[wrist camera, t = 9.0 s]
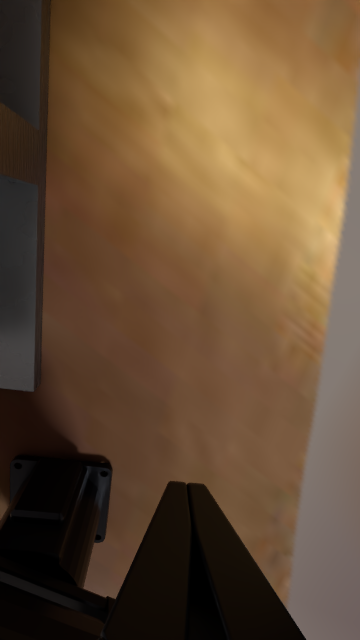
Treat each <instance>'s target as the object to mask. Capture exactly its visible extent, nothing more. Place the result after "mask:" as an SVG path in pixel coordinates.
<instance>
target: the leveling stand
mask: <svg viewBox="0 0 360 640" xmlns="http://www.w3.org/2000/svg"><path fill="white" fill-rule="evenodd" d="M50 1H51V0H0V388H4V389H13V390H22V391H31V392H34V391H35V390H36V388H37V387H38V386H39V385H40V380H41V342H42V305H43V267H44V229H45V191H46V153H47V115H48V77H49V39H50Z"/></svg>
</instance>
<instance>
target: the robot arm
mask: <svg viewBox="0 0 360 640" xmlns="http://www.w3.org/2000/svg"><path fill="white" fill-rule="evenodd" d="M18 463H20V464H22V465H20V464H18ZM102 471H106V473H104V472H102ZM112 471H113V469H112V467H111V465H109V464H106V463H97V462H87V461H76V460H66V459H56V458H45V457H35V456H24V455H18V456H15V457H14V459H13V460H12V462H11V464H10V505H9V507H8V508H7V510H6V512H5V514H4V515H3V517H2V519H1V521H0V640H306V638H305V637H304V635H303V634H302V632H301V631H300V629H299V628H298V626H297V625H296V623H295V621H294V620H293V619H292V617H291V615H290V614H289V612H288V611H287V609H286V608H285V606H284V605H283V603H282V602H281V600H280V599H279V597H278V596H277V594H276V592H275V591H274V589H273V588H272V586H271V585H270V583H269V582H268V580H267V579H266V577H265V576H264V574H263V573H262V571H261V570H260V568H259V567H258V565H257V563H256V562H255V560H254V559H253V557H252V556H251V554H250V553H249V551H248V550H247V548H246V547H245V545H244V544H243V542H242V541H241V539H240V537H239V536H238V534H237V533H236V531H235V530H234V528H233V527H232V525H231V524H230V522H229V521H228V519H227V518H226V516H225V515H224V513H223V512H222V510H221V508H220V507H219V505H218V504H217V502H216V501H215V499H214V498H213V496H212V495H211V493H210V492H209V490H208V489H207V487H206V486H205V485H204V484H199V483H188V484H187V485H186V483H185V482H178V481H170V482H169V483H168V484H167V486H166V489H165V491H164V493H163V495H162V497H161V500H160V502H159V504H158V506H157V509H156V511H155V513H154V515H153V517H152V520H151V522H150V524H149V526H148V529H147V531H146V533H145V535H144V538H143V540H142V542H141V544H140V546H139V549H138V551H137V553H136V555H135V558H134V560H133V562H132V564H131V566H130V569H129V571H128V573H127V575H126V578H125V580H124V582H123V584H122V586H121V589H120V591H119V593H118V595H117V598H116V599H114V598H111V597H109V596H107V597H106V598H105V597H103V596H100V595H98V594H95V593H93V592H90V591H88V590H85V589H83V587H84V583H85V579H86V574H87V570H88V566H89V562H90V557H91V553H92V549H93V545H94V543H100V542H103V541H104V539H105V535H106V528H107V518H108V509H109V500H110V490H111V481H112Z"/></svg>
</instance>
